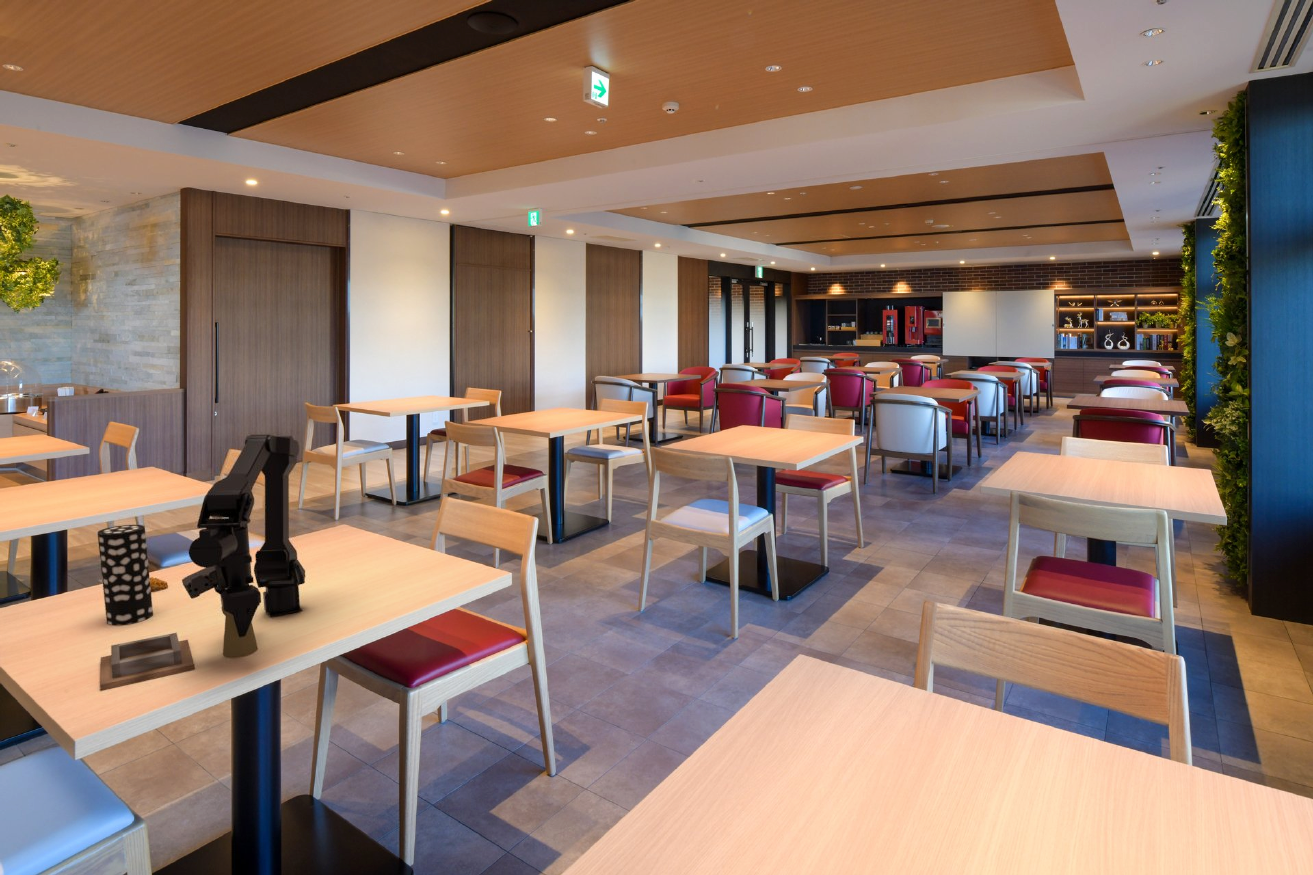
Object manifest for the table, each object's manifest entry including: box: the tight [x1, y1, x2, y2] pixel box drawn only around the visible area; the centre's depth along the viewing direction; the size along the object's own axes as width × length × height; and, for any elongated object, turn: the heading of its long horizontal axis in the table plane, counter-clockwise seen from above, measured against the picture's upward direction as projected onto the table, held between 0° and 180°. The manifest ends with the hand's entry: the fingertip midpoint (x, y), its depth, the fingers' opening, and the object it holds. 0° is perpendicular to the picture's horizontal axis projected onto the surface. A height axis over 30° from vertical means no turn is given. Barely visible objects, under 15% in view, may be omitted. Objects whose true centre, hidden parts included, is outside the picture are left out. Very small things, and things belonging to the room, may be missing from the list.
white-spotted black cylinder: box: [97, 524, 154, 626], centre depth 161 cm, size 8×8×20 cm
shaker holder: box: [99, 632, 196, 691], centre depth 138 cm, size 14×14×4 cm
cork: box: [221, 607, 259, 659], centre depth 144 cm, size 6×6×11 cm
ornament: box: [150, 576, 169, 590], centre depth 178 cm, size 7×10×15 cm
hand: (238, 628), depth 144 cm, fingers open, 9 cm apart
